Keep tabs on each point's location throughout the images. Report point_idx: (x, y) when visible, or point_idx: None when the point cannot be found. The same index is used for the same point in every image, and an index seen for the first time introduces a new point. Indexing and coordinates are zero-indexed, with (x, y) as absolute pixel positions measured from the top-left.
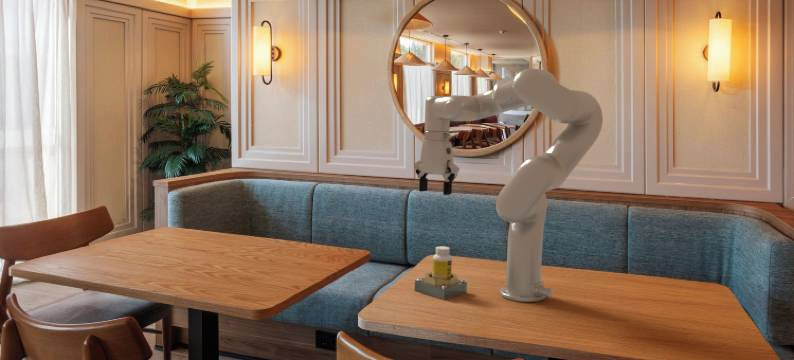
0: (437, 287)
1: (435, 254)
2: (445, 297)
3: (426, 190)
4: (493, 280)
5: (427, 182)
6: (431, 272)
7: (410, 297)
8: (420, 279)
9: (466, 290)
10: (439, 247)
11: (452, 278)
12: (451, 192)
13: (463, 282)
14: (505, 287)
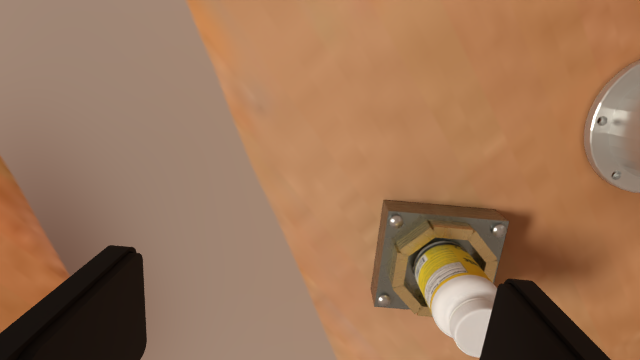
0: None
1: (445, 323)
2: None
3: (141, 264)
4: (512, 33)
5: (75, 314)
6: (399, 263)
7: (394, 333)
8: (389, 301)
9: (497, 212)
10: (469, 337)
11: (487, 274)
12: (538, 287)
13: (503, 233)
14: (597, 117)
